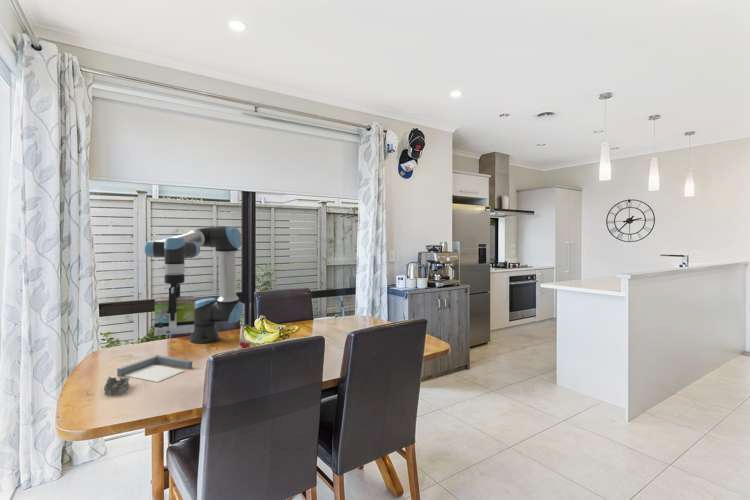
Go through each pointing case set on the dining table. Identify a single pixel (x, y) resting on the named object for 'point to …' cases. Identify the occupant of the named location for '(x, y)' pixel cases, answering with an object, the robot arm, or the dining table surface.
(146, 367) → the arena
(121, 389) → the egg carton
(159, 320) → the tea box
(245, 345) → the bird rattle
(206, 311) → the robot arm
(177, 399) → the dining table surface
